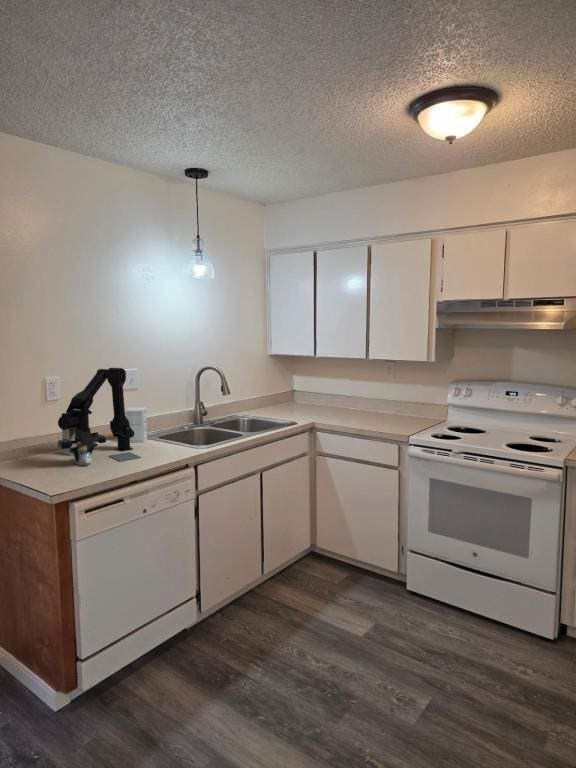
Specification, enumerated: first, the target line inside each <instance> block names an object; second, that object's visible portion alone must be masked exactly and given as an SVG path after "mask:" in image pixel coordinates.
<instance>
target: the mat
mask: <svg viewBox="0 0 576 768" xmlns="http://www.w3.org/2000/svg"><path fill="white" fill-rule="evenodd" d="M108 458H111V459H113V460H116V461H117V462H119V463H120V462H126V461H132V460H139V459H142V456H140V455H138V454H135V453H132V452H130V451H128V452H121V453H116V454H110V455H108Z"/></svg>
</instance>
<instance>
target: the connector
mask: <svg viewBox="0 0 576 768" xmlns="http://www.w3.org/2000/svg"><path fill="white" fill-rule="evenodd" d="M74 459H75V458H74ZM92 460H93V459H92V454H91V453H90V452H88V451H86V450H78V462H77V461H76V459H75V464H76V465H79V466H81V467H86V466H87V467H88V466H91V465H92Z"/></svg>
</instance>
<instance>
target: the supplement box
mask: <svg viewBox="0 0 576 768" xmlns="http://www.w3.org/2000/svg"><path fill="white" fill-rule="evenodd" d="M125 416H126V418H127V419H128V421H129V424H130V428H131V429H132V430H133V431H134V436H133V437H132V438H130V444H131V443H145V442H146V441H147V439H148V424H147V418H148V417H147V407H146V406H144V407H137V406H136V407H127V408H126V409H125Z"/></svg>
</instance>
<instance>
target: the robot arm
mask: <svg viewBox="0 0 576 768" xmlns="http://www.w3.org/2000/svg"><path fill="white" fill-rule="evenodd" d="M106 380H107V382H108V384H109V386H110V387H111V394H112V395H111V397H112V407H113V409H112V410H113V417H112V420H110V421H109V425H110V427H109V429H110V431H111V434H112V437H114V438H116V439H117V447H114V450H117V451H119V452H122V451H130V450H134V447H132V446H131V443H130V438H132V437H133V436H134V431H133V430H132V429H131V428H130V424H129V421H128V419H127V418H126V416H125V410H126V409H125V395H124V384H125V383H126V381H127V372H126V370H125V368H122V367H109V368H108V369H107V368H99V369H97V370H96V373H95V374H94V376H93V377H92V379H90V381H89V382H88V384H87V385H86V386H85V387H84V389H82V390H81V391H79V392H78V393H76V394H75V395H74V396H73V397H72V399H70V403H69V405H68V407H67V409H66V411H65V412H63V413H61V416H60V417H59V418H58V421H57V425H58V427H59V428H60V429H61V431H62V430H67V429H71V428H74V430H75V437H74V439H75V440H74V441H70V440H68V439H65V440H62V439H59V440H58V441H57V448H60V449H61V450H63V449H67V448H69V449H70V450H71V451H72V453H73V455H72V456H73V457H74V459H76V461H77V462H78V447H76V445H77V444H82V445H83V446H87V451H88V452H90V453H91V455H93V451H94V449H95V448H96V447H98V446H99V444H105V443H107V437H106V436H105V435H102V434H99V432H97V431H96V432H91V428H90V421H89V420H90V419H89V416H90V415H91V414H93V411H91V410H90V408H91V406H92V404H93V402H94V397H95V395H96V394H97V392H98V391H99V390H100V388H101V387H102V386H103V384H104V383H105V382H106ZM76 461H75V462H76Z"/></svg>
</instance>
